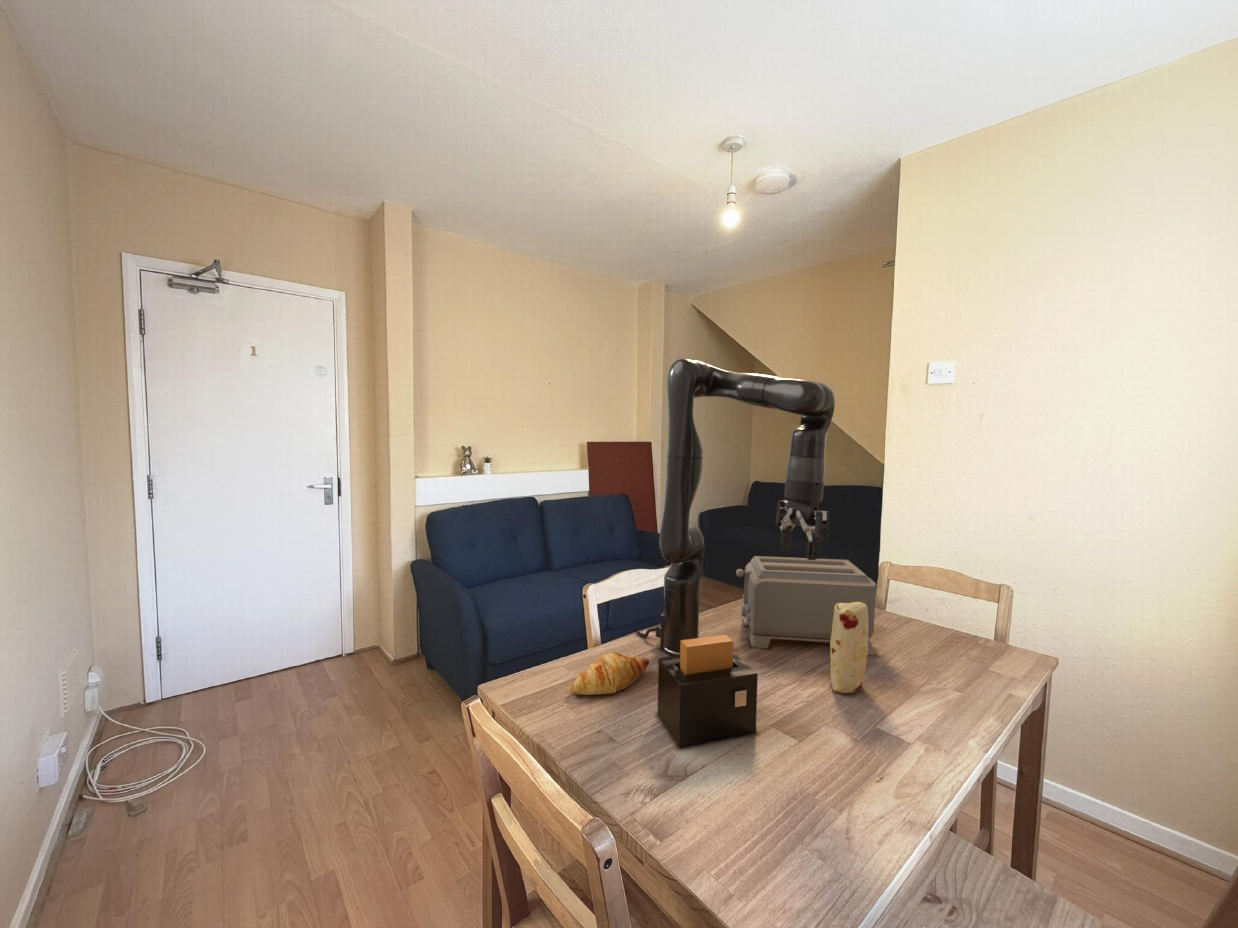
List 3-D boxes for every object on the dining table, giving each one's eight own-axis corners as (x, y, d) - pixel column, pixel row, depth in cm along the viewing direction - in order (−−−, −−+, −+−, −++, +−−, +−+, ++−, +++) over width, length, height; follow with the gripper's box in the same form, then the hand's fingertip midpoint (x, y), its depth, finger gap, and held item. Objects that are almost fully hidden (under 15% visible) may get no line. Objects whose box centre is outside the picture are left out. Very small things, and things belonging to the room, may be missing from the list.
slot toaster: (657, 714, 99) (658, 657, 98) (727, 701, 104) (728, 647, 103) (681, 751, 88) (682, 687, 87) (758, 735, 93) (760, 675, 92)
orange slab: (679, 689, 96) (680, 640, 95) (724, 681, 99) (726, 634, 98) (685, 697, 93) (686, 646, 92) (732, 689, 96) (733, 640, 95)
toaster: (731, 618, 149) (732, 553, 148) (851, 625, 145) (854, 558, 143) (738, 646, 130) (740, 571, 129) (876, 655, 126) (880, 578, 124)
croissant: (576, 718, 103) (584, 695, 99) (556, 679, 110) (563, 656, 106) (654, 686, 115) (664, 664, 111) (631, 653, 122) (640, 631, 118)
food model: (846, 701, 104) (851, 611, 103) (820, 687, 110) (823, 601, 108) (873, 689, 109) (878, 603, 108) (846, 676, 115) (850, 594, 113)
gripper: (769, 473, 107) (763, 545, 109) (812, 482, 94) (805, 564, 95) (798, 474, 109) (792, 544, 111) (844, 482, 96) (837, 562, 97)
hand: (798, 553), depth 103 cm, fingers open, 8 cm apart
